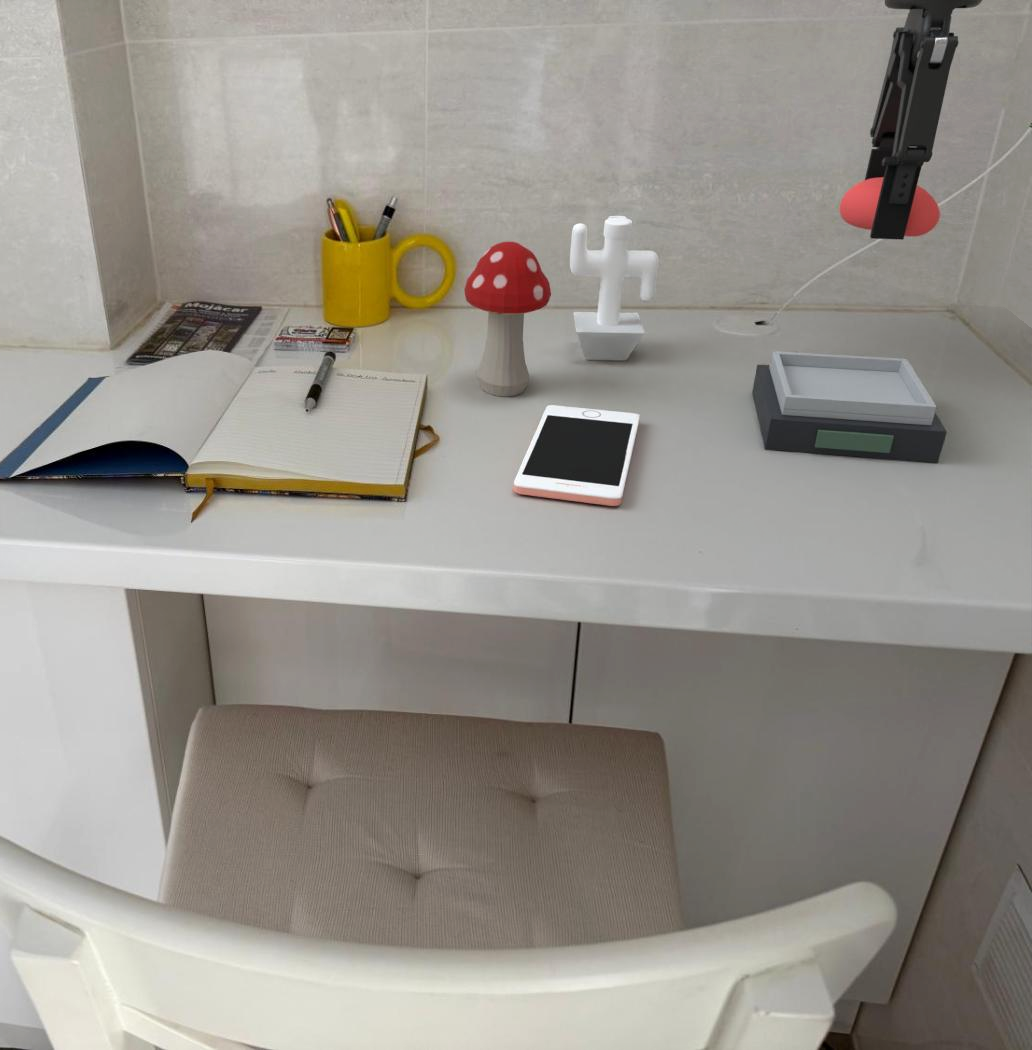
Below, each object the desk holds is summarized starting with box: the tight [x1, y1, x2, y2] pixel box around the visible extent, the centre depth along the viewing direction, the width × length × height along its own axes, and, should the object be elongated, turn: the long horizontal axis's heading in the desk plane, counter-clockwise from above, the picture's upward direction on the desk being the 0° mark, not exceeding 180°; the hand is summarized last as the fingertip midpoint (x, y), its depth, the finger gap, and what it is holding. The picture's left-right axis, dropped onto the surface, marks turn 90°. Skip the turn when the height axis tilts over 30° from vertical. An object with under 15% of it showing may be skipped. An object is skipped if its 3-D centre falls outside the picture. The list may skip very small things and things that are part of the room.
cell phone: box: [512, 404, 641, 507], centre depth 89 cm, size 9×18×1 cm, turn 160°
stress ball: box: [839, 177, 941, 238], centre depth 94 cm, size 5×9×6 cm, turn 18°
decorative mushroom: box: [464, 241, 552, 398], centre depth 101 cm, size 10×9×15 cm
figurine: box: [569, 215, 660, 361], centre depth 109 cm, size 7×9×15 cm
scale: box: [751, 350, 948, 464], centre depth 92 cm, size 14×14×5 cm
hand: (878, 227), depth 96 cm, fingers closed on stress ball, 8 cm apart
